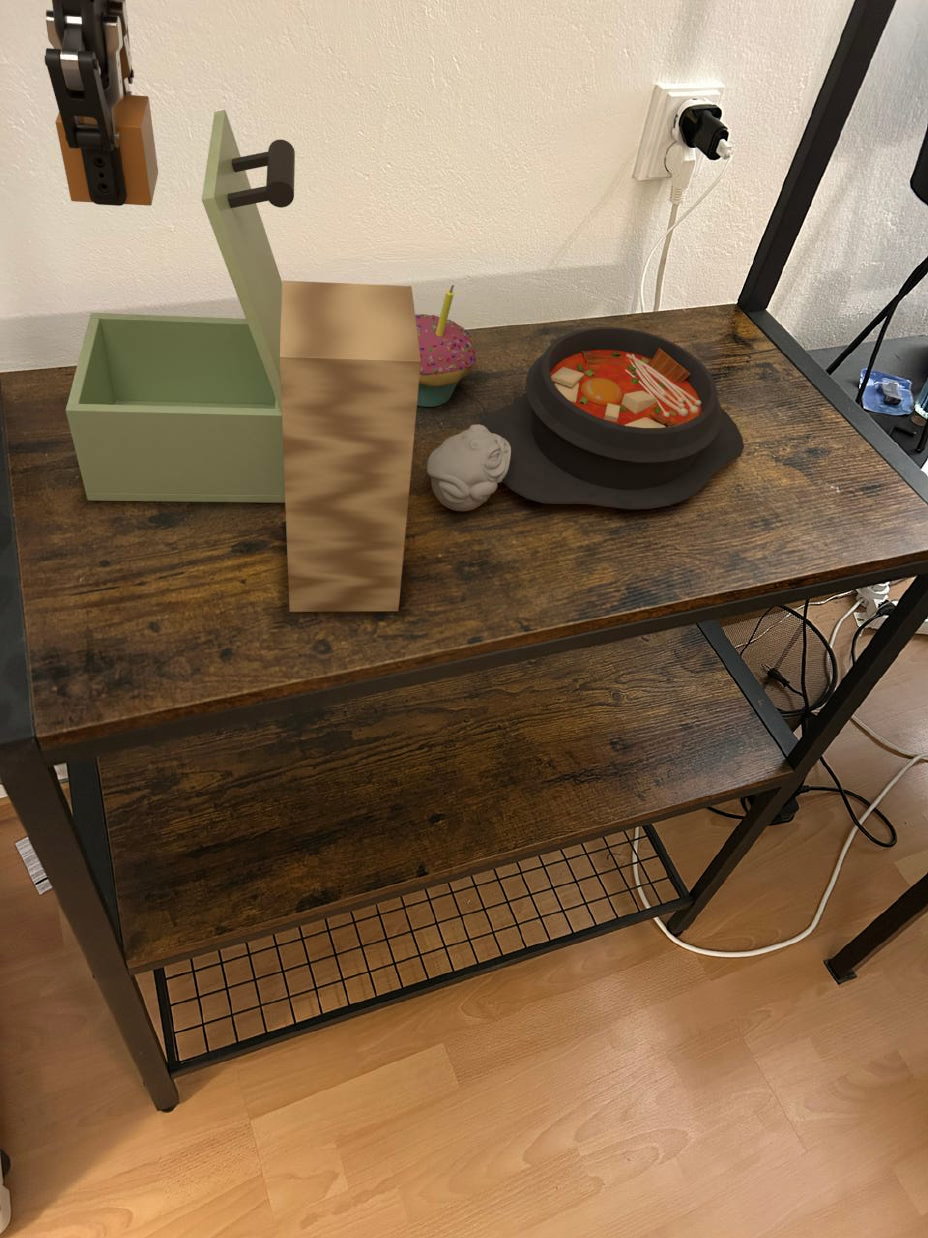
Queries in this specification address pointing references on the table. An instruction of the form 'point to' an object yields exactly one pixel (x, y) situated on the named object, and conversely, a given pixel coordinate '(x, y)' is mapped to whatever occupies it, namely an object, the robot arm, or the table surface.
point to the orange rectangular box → (133, 150)
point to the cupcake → (442, 355)
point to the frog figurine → (468, 467)
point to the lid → (250, 232)
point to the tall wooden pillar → (347, 441)
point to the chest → (175, 412)
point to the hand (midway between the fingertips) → (114, 182)
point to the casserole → (615, 423)
